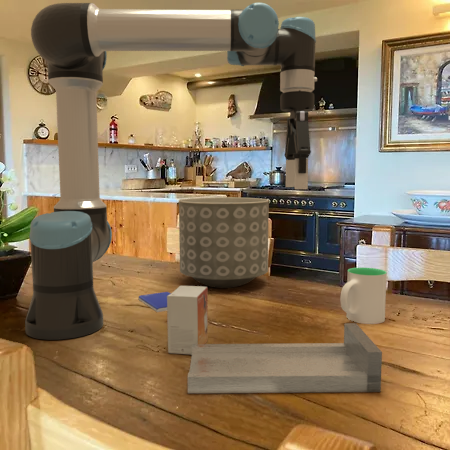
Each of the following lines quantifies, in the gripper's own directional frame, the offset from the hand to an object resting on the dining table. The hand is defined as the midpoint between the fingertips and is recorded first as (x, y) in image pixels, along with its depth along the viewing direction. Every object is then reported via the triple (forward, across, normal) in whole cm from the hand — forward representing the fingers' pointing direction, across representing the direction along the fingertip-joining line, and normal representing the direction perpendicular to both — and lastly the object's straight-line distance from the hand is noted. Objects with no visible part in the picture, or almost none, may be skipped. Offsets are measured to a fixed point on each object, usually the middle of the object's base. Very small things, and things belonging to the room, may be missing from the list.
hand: (295, 188), depth 108 cm
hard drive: (+29, +5, +31) cm, 43 cm away
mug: (+28, -9, -13) cm, 32 cm away
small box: (+28, -24, +23) cm, 44 cm away
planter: (+28, +25, +16) cm, 41 cm away
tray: (+28, -36, +8) cm, 47 cm away
